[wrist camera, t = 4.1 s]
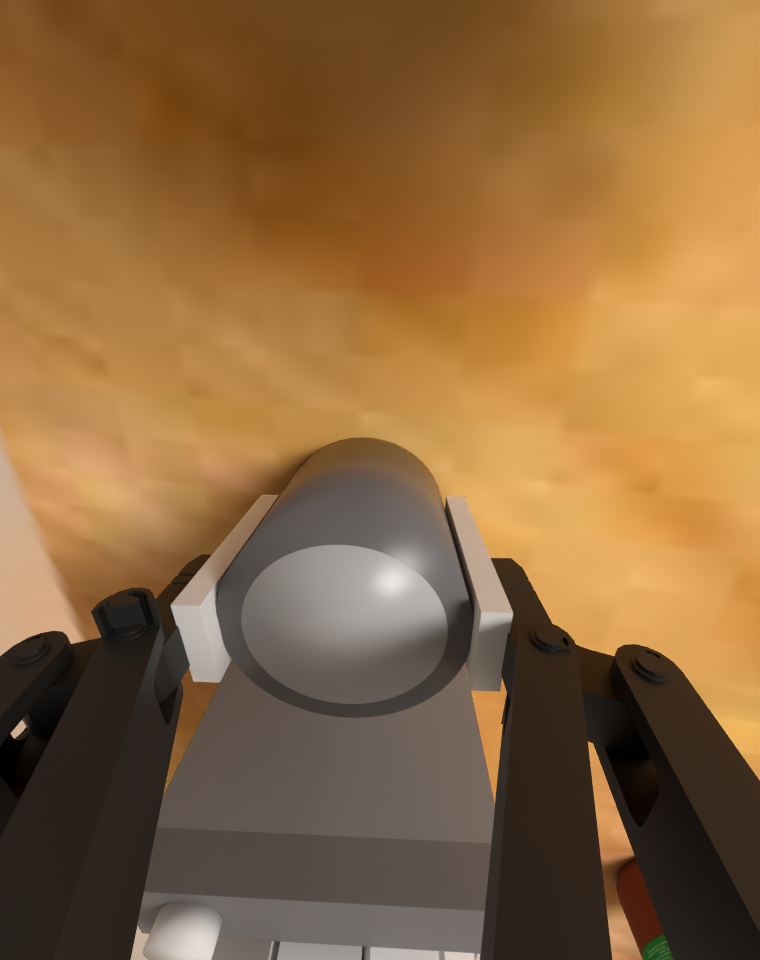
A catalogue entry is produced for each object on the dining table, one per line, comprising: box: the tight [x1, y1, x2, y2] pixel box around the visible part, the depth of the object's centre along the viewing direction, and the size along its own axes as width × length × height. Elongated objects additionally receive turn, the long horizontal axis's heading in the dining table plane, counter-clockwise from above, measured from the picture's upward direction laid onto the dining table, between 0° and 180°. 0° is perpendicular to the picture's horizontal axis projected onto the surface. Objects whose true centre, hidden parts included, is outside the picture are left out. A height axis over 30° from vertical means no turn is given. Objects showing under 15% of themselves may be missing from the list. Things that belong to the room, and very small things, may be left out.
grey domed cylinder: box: [216, 438, 474, 718], centre depth 13 cm, size 7×7×7 cm
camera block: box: [137, 660, 495, 960], centre depth 18 cm, size 18×12×10 cm, turn 1°
